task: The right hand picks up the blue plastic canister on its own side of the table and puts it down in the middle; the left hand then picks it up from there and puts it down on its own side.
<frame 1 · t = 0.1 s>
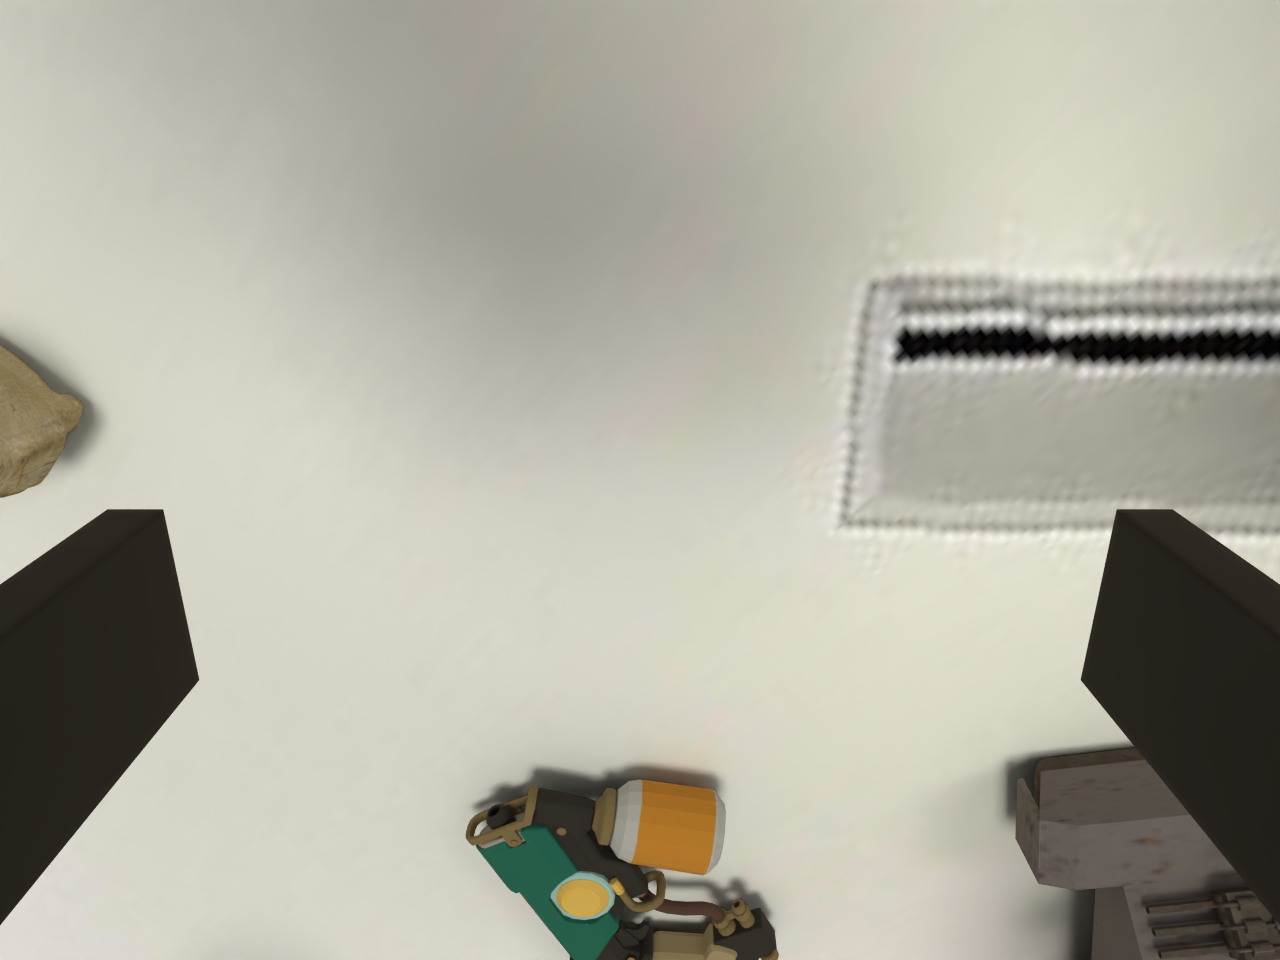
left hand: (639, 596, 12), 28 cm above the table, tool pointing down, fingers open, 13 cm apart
sculpture: (21, 395, 41), on the table
toy: (1224, 871, 51), on the table
spray gun: (629, 870, 51), on the table
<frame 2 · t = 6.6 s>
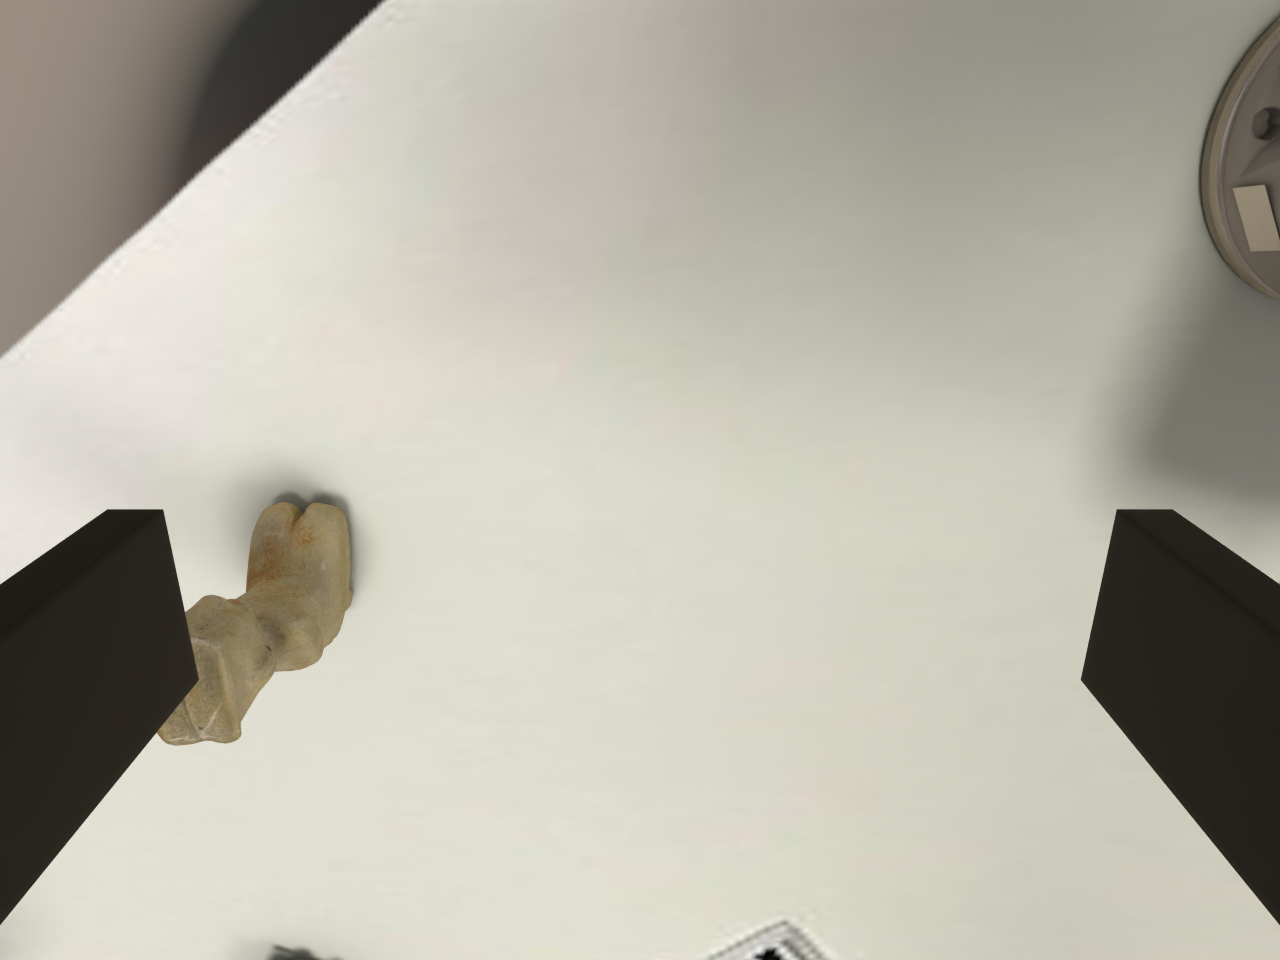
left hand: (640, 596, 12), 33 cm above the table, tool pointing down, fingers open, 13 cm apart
sculpture: (318, 552, 49), on the table
when the right hand's fingers open (4 cm above the table, at t = 23.1 s): canister drops 1 cm, on the table.
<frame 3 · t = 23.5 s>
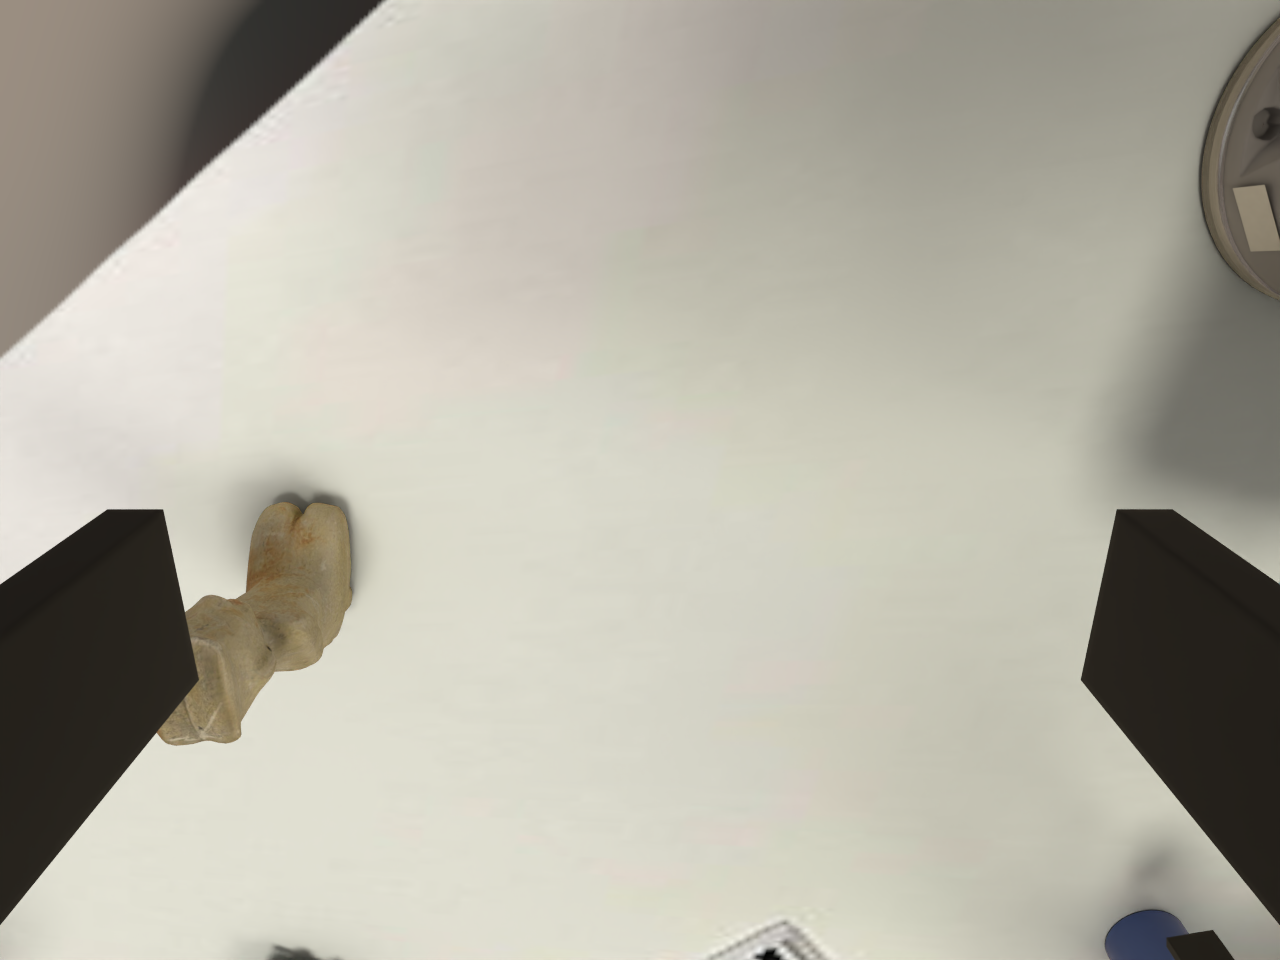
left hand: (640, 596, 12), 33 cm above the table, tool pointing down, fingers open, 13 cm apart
sculpture: (318, 552, 49), on the table
canister: (1144, 939, 60), on the table
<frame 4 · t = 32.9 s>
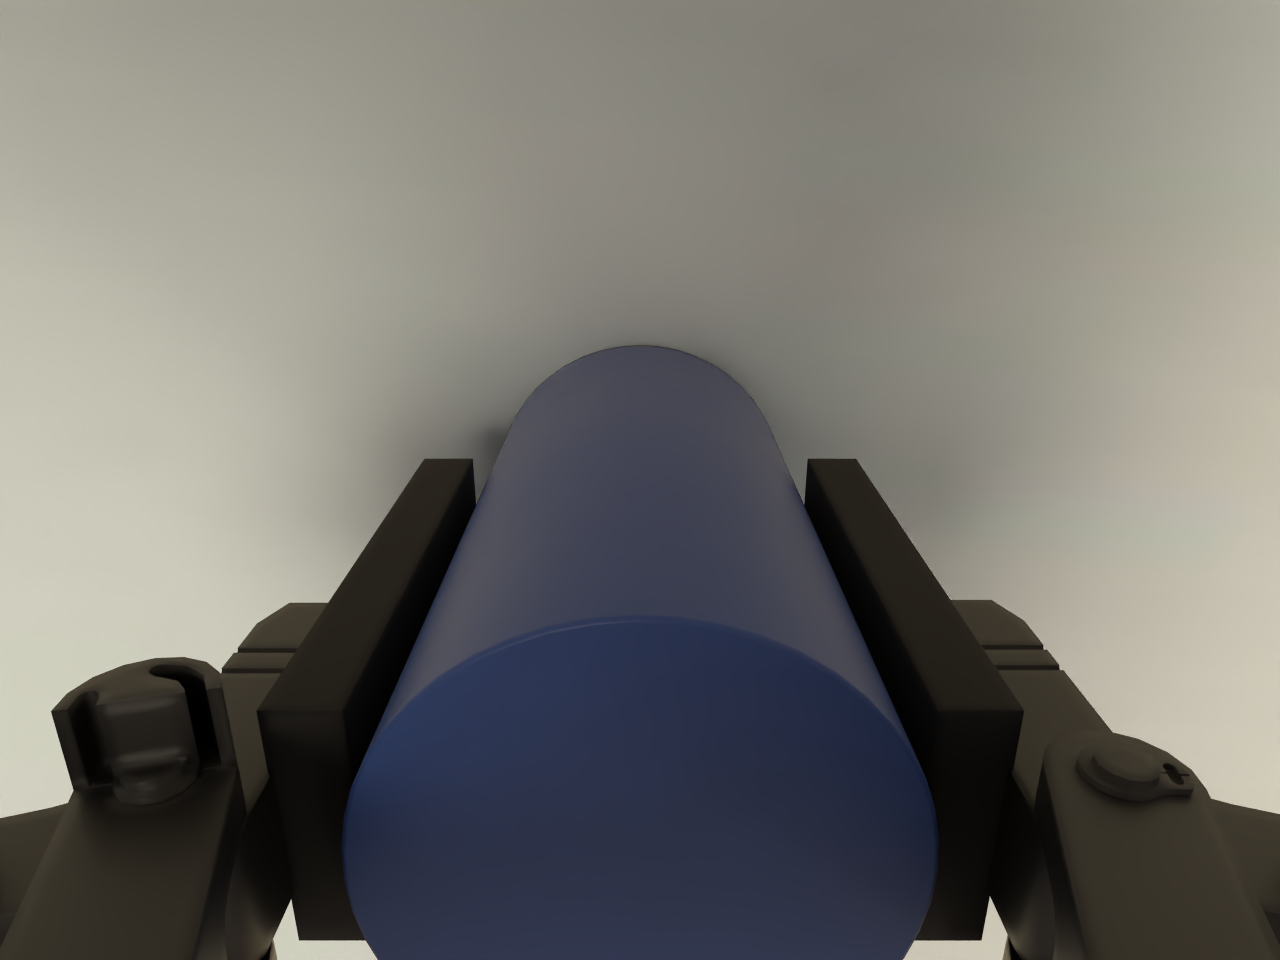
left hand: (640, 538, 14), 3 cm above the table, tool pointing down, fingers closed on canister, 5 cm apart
canister: (639, 482, 17), on the table, touching left hand
when the left hand's fingers open (4 cm above the table, at t = 45.5 s): canister drops 1 cm, on the table.
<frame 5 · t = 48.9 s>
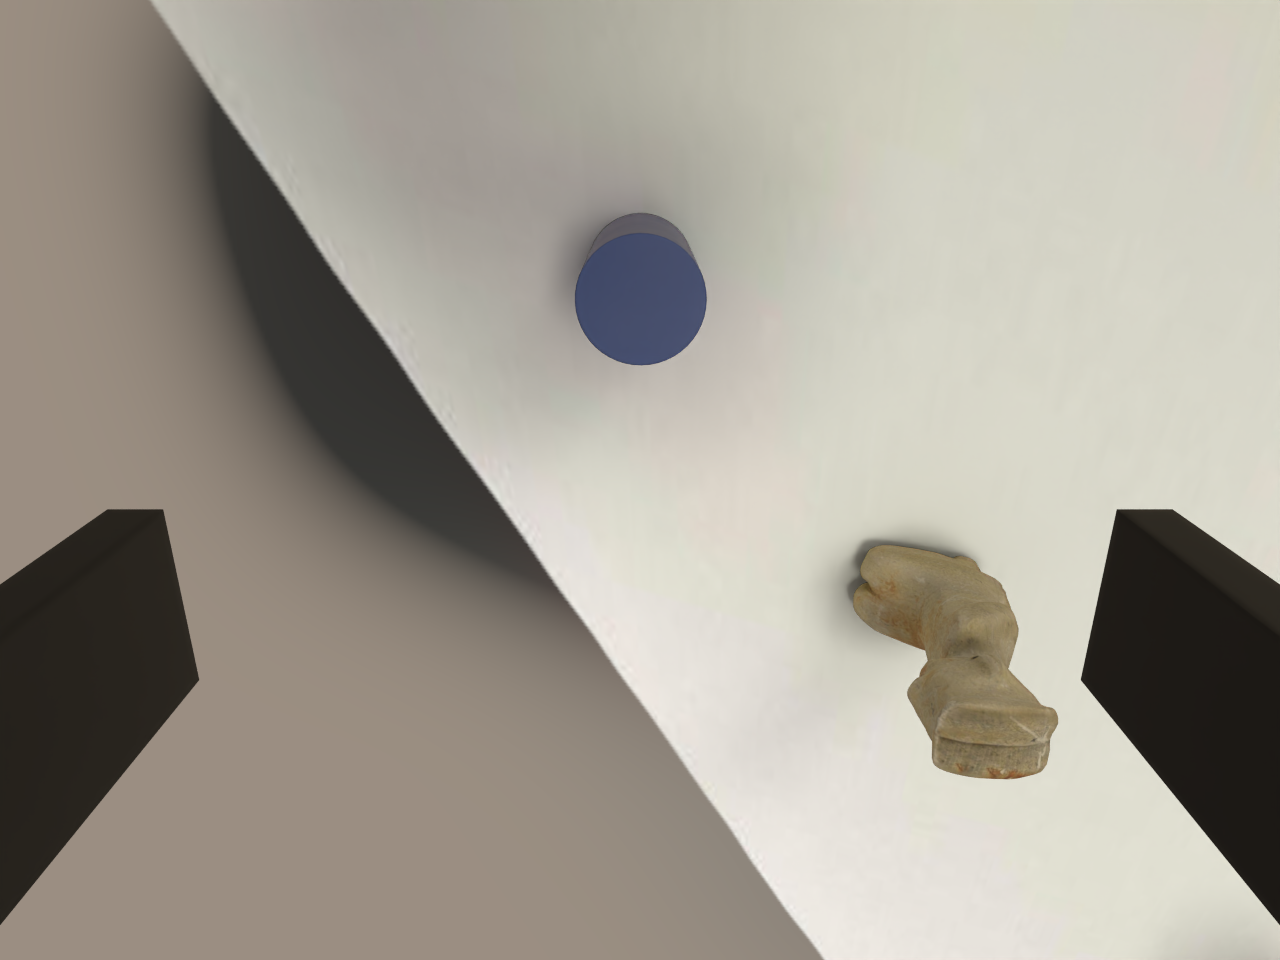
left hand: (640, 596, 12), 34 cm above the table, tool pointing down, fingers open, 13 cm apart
sculpture: (913, 575, 50), on the table
canister: (640, 267, 44), on the table
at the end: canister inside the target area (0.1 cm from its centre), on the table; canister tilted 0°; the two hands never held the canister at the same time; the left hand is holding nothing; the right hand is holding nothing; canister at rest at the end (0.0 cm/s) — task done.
